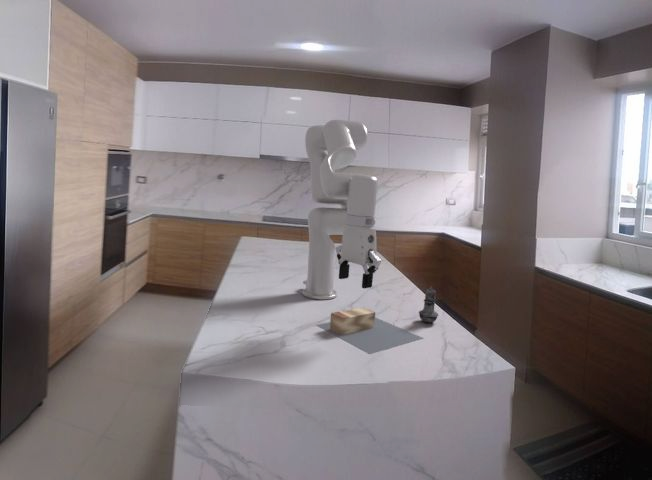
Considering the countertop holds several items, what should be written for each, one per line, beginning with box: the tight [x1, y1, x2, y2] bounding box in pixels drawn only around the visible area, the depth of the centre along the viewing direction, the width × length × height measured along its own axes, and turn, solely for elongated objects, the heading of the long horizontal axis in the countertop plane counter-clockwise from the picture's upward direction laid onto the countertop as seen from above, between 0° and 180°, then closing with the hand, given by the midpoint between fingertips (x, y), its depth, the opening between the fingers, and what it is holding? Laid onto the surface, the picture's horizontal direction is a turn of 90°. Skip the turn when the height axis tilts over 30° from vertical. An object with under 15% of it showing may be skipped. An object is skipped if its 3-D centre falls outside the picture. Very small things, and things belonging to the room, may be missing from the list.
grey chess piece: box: [418, 285, 439, 325], centre depth 122 cm, size 6×6×12 cm
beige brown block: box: [329, 307, 376, 335], centre depth 114 cm, size 12×5×5 cm, turn 127°
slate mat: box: [316, 316, 424, 355], centre depth 112 cm, size 22×20×1 cm
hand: (354, 282), depth 113 cm, fingers open, 9 cm apart
